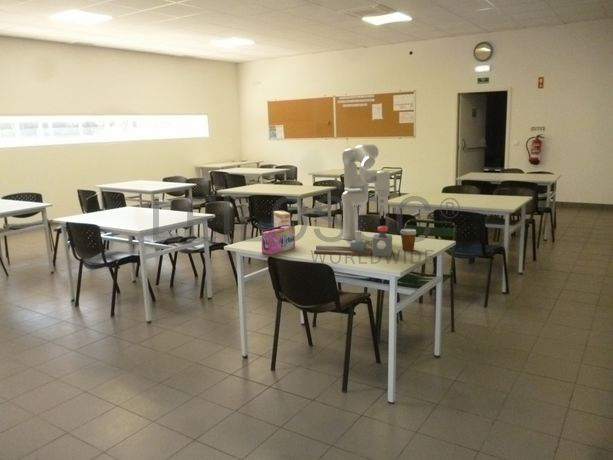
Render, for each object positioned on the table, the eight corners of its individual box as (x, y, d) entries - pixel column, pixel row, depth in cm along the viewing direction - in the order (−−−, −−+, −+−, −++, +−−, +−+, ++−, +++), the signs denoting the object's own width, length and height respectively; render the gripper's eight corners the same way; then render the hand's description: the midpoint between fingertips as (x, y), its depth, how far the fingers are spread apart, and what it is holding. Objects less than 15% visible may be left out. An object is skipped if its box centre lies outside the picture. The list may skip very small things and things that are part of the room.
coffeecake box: (291, 243, 328) (290, 213, 325) (280, 244, 326) (279, 214, 322) (284, 239, 342) (283, 210, 338) (274, 240, 340) (273, 210, 336)
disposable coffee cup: (415, 252, 297) (415, 231, 295) (398, 251, 301) (398, 231, 298) (417, 248, 306) (417, 228, 304) (401, 247, 309) (401, 228, 307)
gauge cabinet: (374, 251, 302) (374, 234, 300) (391, 251, 300) (392, 234, 298) (372, 255, 290) (372, 238, 288) (390, 256, 288) (390, 239, 286)
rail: (318, 249, 310) (318, 243, 309) (373, 251, 302) (373, 245, 302) (314, 253, 299) (314, 247, 298) (370, 255, 291) (370, 249, 290)
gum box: (270, 255, 297) (269, 232, 295) (259, 253, 302) (259, 230, 300) (295, 247, 316) (295, 225, 314) (285, 246, 321) (285, 224, 318)
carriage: (352, 248, 302) (352, 229, 300) (365, 248, 301) (365, 230, 298) (350, 250, 296) (350, 232, 294) (364, 251, 294) (364, 232, 292)
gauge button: (378, 241, 297) (378, 226, 296) (387, 241, 296) (387, 226, 294) (377, 243, 292) (377, 227, 290) (386, 243, 291) (387, 228, 289)
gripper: (388, 194, 281) (388, 227, 284) (390, 191, 295) (390, 223, 298) (374, 194, 282) (374, 227, 286) (377, 191, 297) (377, 222, 300)
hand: (382, 225), depth 292 cm, fingers closed
